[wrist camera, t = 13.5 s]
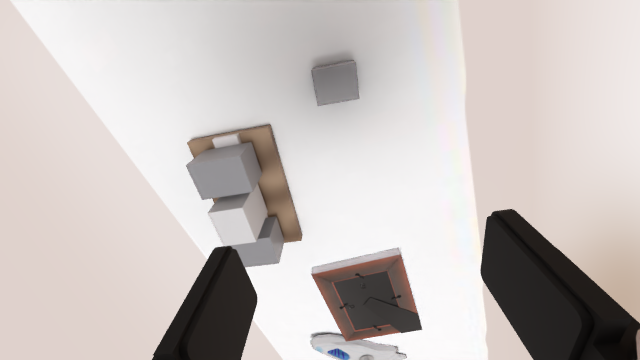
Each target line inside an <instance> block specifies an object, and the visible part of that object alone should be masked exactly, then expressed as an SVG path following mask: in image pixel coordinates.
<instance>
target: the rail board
mask: <svg viewBox="0 0 640 360" xmlns="http://www.w3.org/2000/svg"><path fill="white" fill-rule="evenodd" d="M248 142H252V145H253V148H254V151H255V154H256V157H257V160H258V163H259V166H260V169H261V172H262V176H261V178H260V180H259V181H258V186H259V189H260V191H261V194H262V197H263V200H264V203H265V205H266V208H267V211H268V212H267V215H266V217H265V218H268V217H275V216H276V217H277V220H278V223H279V226H280V229H281V232H282V235H283V238H284V243H286V242H294V241H301V239H302V232H301V229H300V225H299V222H298V219H297V215H296V212H295V208H294V205H293V201H292V198H291V194H290V191H289V187H288V184H287V181H286V177H285V174H284V170H283V167H282V163H281V160H280V156H279V153H278V150H277V146H276V143H275V139H274V136H273V132H272V129H271V125H265V126H260V127H255V128H250V129H244V130H239V131H234V132H228V133H223V134H218V135H212V136H207V137H202V138H196V139H192V140H190V141H189V142H187V144H188V146H189V148H190V151H191V153H192V155H193V157H194V158H196V157H197V156H198V155H199V154H200V153H201V152H203V151H204V150H210V149H215V148H221V147H226V146H232V145H237V144H243V143H248ZM218 198H219V197H217V198H212V199H213V201H214V203H215V202H216V201H217V200H218Z"/></svg>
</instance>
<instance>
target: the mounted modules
mask: <svg viewBox="0 0 640 360" xmlns="http://www.w3.org/2000/svg"><path fill="white" fill-rule="evenodd" d="M186 167H187V169H188V171H189V173H190V175H191V177H192V179H193V182H194V184H195V186H196V188H197V190H198V192H199V194H200V196H201V198H202V200H204V199H211V198H217V197H224V196H230V195H237V194H243V193H249V192H253V191H254V189H255V187H256V185H257V183H258V181H259V180H260V178H261V176H262V172H261V169H260V166H259V163H258V160H257V157H256V154H255V151H254V148H253V145H252V142H248V143H243V144H237V145H232V146H226V147H221V148H215V149H210V150H204V151H203V152H201V153H200V154H199V155H198V156H197V157H196V158H194V159H193V160H192V161H191V162H190V163H188V164H187V165H186ZM283 244H284V238H283V235H282V232H281V229H280V226H279V223H278V220H277V217H276V216H275V217H268V218H265V220H264V223H263V225H262V228H261V231H260V233H259V236H258V238H257V241H256V242H252V243H245V244H238V245H230V246H231V247H232V248H233V249H236V250H237V252H238V254H239V256H240V258H241V261H242V263H243V265H244V267H251V266H260V265H268V264H277V263H279V261H280V257H281V253H282V249H283Z"/></svg>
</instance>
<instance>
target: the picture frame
mask: <svg viewBox="0 0 640 360" xmlns="http://www.w3.org/2000/svg"><path fill="white" fill-rule="evenodd" d="M311 275H312V277H313V279H314V280H315V282H316V284H317V286H318V288H319V290H320V292H321V294H322V296H323V298H324V300H325V302H326V304H327V306H328V308H329V310H330V312H331V313H332V315H333V317H334V319H335V321H336V323H337V325H338V327H339V329H340V331H341V333H342V335H343V337H344V339H345V341H346V342H347V341H353V340H359V339H364V338H370V337H376V336H382V335H388V334H394V333H400V332H401V333H405V332H410V331H416V330H422V327H421V324H420V320H419V316H418V313H417V310H416V306H415V303H414V299H413V295H412V292H411V288H410V285H409V281H408V278H407V274H406V271H405V267H404V264H403V260H402V257H401V253H400V250H399V248H395V249H391V250H386V251H382V252H378V253H373V254H369V255H365V256H360V257H356V258H352V259H347V260H343V261H339V262H334V263H330V264H326V265H321V266H317V267H313V268H312V273H311Z"/></svg>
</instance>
